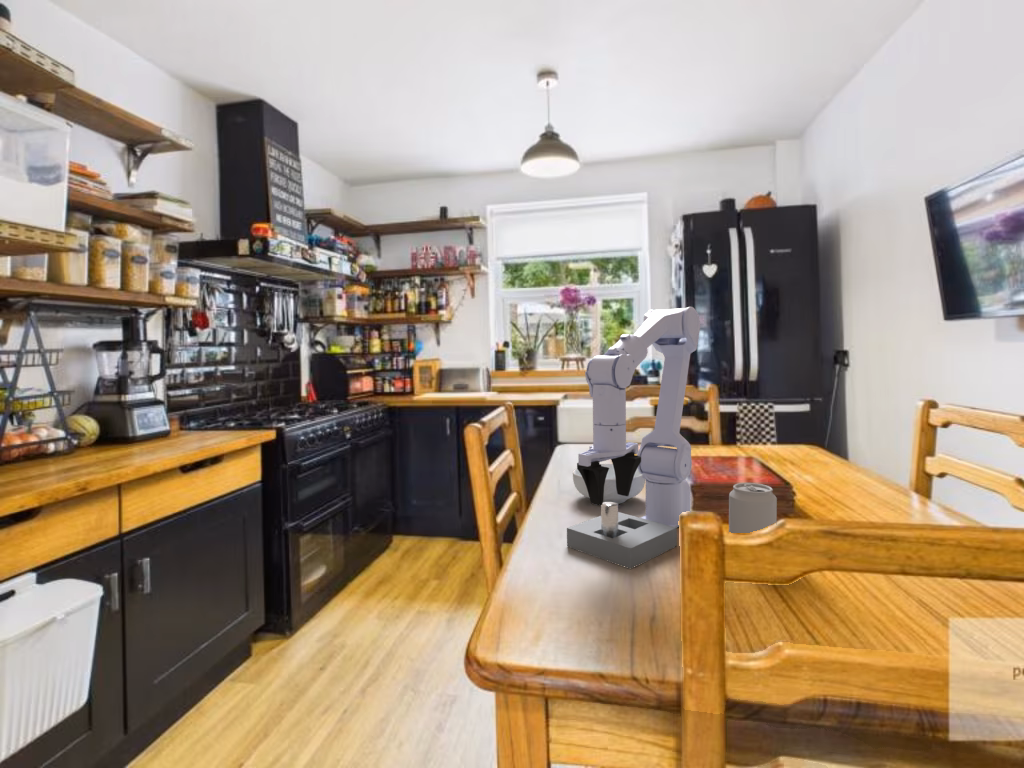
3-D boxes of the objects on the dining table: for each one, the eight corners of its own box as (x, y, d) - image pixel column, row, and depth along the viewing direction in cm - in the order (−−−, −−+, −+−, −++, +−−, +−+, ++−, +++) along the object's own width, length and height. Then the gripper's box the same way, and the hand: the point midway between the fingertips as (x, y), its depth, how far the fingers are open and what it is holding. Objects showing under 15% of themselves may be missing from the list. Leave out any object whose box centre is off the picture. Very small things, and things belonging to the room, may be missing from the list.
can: (748, 565, 88) (749, 494, 87) (719, 549, 95) (719, 482, 94) (786, 559, 90) (787, 489, 89) (754, 544, 97) (755, 479, 96)
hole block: (614, 527, 107) (614, 510, 107) (676, 546, 97) (676, 527, 97) (567, 546, 98) (566, 527, 98) (630, 569, 88) (630, 548, 87)
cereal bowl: (640, 490, 134) (640, 462, 134) (650, 510, 118) (650, 479, 117) (572, 490, 136) (572, 462, 136) (573, 510, 120) (573, 479, 119)
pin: (609, 543, 98) (609, 500, 97) (621, 548, 95) (621, 504, 95) (597, 547, 96) (597, 504, 95) (610, 552, 93) (610, 508, 93)
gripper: (616, 417, 102) (616, 487, 103) (564, 426, 92) (565, 503, 93) (647, 420, 96) (648, 494, 97) (596, 430, 87) (597, 512, 88)
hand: (610, 499), depth 95 cm, fingers open, 7 cm apart
